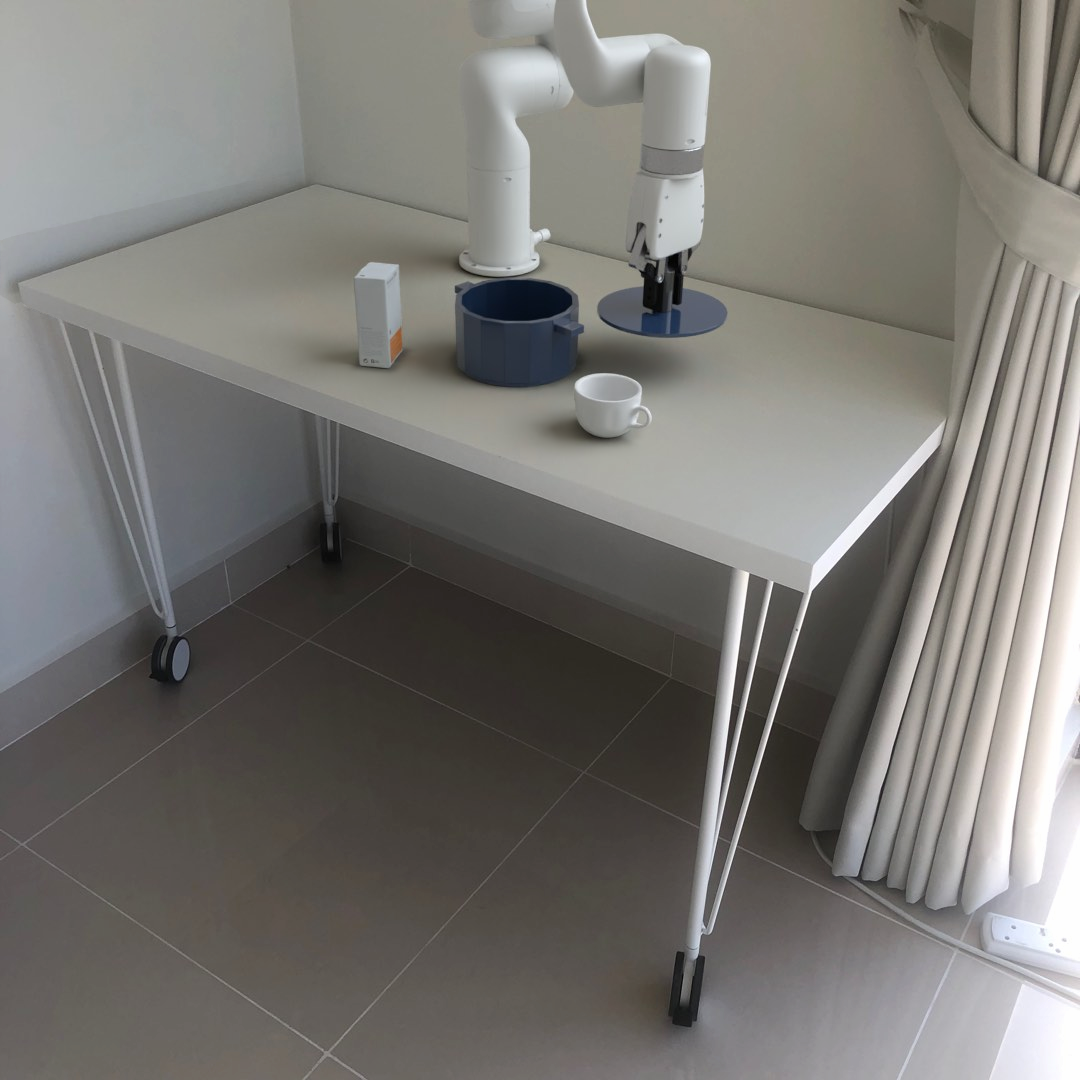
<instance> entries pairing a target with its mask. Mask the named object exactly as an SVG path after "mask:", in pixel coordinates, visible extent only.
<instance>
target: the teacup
mask: <svg viewBox="0 0 1080 1080" xmlns="http://www.w3.org/2000/svg"><path fill="white" fill-rule="evenodd" d="M573 393H574V408H575V414H576V419H577V421H578V424H579V425H580V426H581V428H582V429H583V430H584V431H586V432H587V433H589V434H590V435H592V436H595V437H597V438H605V439H608V438H611V439H612V438H616V437H619V436H622V435H625V434H626V433H628V432H629V431H630V430H631V429H638V430H639V429H644V428H647V427H648V426H650V425H651V423H652V420H653V419H652V418H653V417H652V412H651V411H650V409H649V408H647V406H644V405H641V403H642V396H643V395H642V394H643V387H642V385H641V384H640V383H639V382H638V381H637V380H635V379H634V378H631V377H629V376H626V375H622V374H619V373H618V374H617V373H607V372H603V373H601V372H600V373H592V374H588V375H584V376H583V377H580V378H578V379H577V380H576V381H575V382H574V389H573ZM640 412H644V414H645V415H646V421H645V423H638V422H637V420H638V419H639V415H640Z"/></svg>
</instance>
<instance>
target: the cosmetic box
mask: <svg viewBox="0 0 1080 1080" xmlns="http://www.w3.org/2000/svg"><path fill="white" fill-rule="evenodd" d="M353 289H354V302H355V318H356V330H357V346H358V360H359V362H358V363H359V366H362V367H372V368H380V369H381V368H382V369H391V367H392V365H393V364H394V363H395V361H396V360H397V358H399V356H400V355H401V354H402V353H403V351H404V347H403V345H404V344H403V326H402V325H403V324H402V323H403V322H402V302H401V282H400V265H399V264H398V263H397V264H396V263H394V264H393V263H384V262H374V261H369V262H368V263H367V264H365V266H364V267H362V268H361V269H359V271H358V272H357V274H356V275H355V276H354V277H353Z"/></svg>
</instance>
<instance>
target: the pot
mask: <svg viewBox="0 0 1080 1080" xmlns="http://www.w3.org/2000/svg"><path fill="white" fill-rule="evenodd" d="M454 293H455V294H456V295H455V299H454V300H455V301H454V315H455V316H454V318H455V347H456V348H455V350H456V352H455V353H456V364H457V366H458V368H459V370H460V371H461V372H462V373H463V375H466V376H467V377H468V378H471V379H472V380H475V381H478V382H481V383H483V384H487V385H492V386H498V387H508V388H526V387H527V388H528V387H536V386H543V385H547V384H551V383H554V382H557V381H560V380H562V379H564V378H566V377H567V376H569V375H570V374H572V373H573V372H574V370H575V369H576V367H577V365H578V354H579V353H578V351H579V350H578V349H579V335H581V334H584V333H585V324H582V323H579V319H580V318H579V317H580V316H579V315H580V308H579V307H580V301H579V295H578V294H577V293H575V292H574V290H572V289H571V288H570V287H568V286H565V285H563V284H560V283H557V282H555V281H552V280H547V279H539V278H533V277H499V278H494V279H488V280H487V279H486V280H481V281H479V282H476V283H473V282H471V281H468V280H467V281H465V282H461V283H458V284H456V285H454Z"/></svg>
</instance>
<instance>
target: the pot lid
mask: <svg viewBox="0 0 1080 1080" xmlns="http://www.w3.org/2000/svg"><path fill="white" fill-rule="evenodd" d="M674 278H675V269H674V268H672V267H669V266H665V270H664V279H663V281H666V282H667V285H666V300H665V310H664V311H663V312H657V311H654V310H651V309H648V308H645V307H644V306H643V287H644V285H642V286H634V287H628V288H624V289H619V290H615V291H613V292H611V293H609V294H607V295H605V296H603V297H602V298H601V299H600V300H599V301H598V302H597V304H596V313H597V316H598V318H599V319H600V320H601V321H602V322H603V323H604V324H605V325H607V326H609V327H611V328H613V329H616V330H617V331H620V332H624V333H627V334H631V335H637V336H641V337H647V338H661V339H677V338H689V337H695V336H701V335H705V334H708V333H711V332H713V331H715V330H717V329H719V328H721V327H722V326H723V325H724V324H725V323H726V321H727V319H728V309H727V307H726V305H725V304H724V302H722V301H720V300H719V299H717V298H715V297H714V296H712V295H710V294H707V293H704V292H701V291H698V290H694V289H690V288H685V287H683V292H682V303H681V304H680V305H674V304H673V292H674Z"/></svg>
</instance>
